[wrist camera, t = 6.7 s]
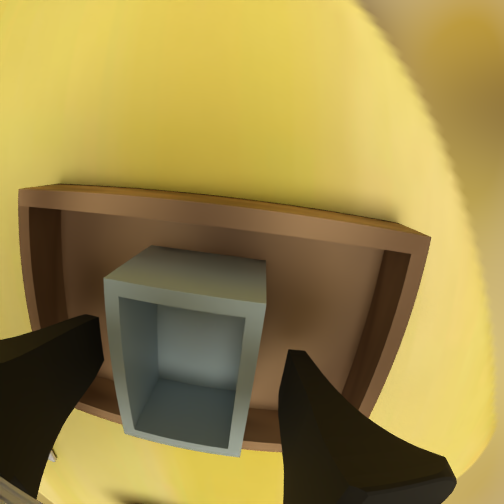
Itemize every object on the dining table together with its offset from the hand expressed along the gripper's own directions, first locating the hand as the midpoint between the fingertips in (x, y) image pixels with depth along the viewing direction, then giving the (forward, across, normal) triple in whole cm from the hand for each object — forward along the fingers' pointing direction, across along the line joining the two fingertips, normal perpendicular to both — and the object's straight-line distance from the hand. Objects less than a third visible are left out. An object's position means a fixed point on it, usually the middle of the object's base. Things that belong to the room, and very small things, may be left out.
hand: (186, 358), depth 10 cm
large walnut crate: (+3, 0, 0) cm, 3 cm away
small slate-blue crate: (+3, 0, 0) cm, 3 cm away
